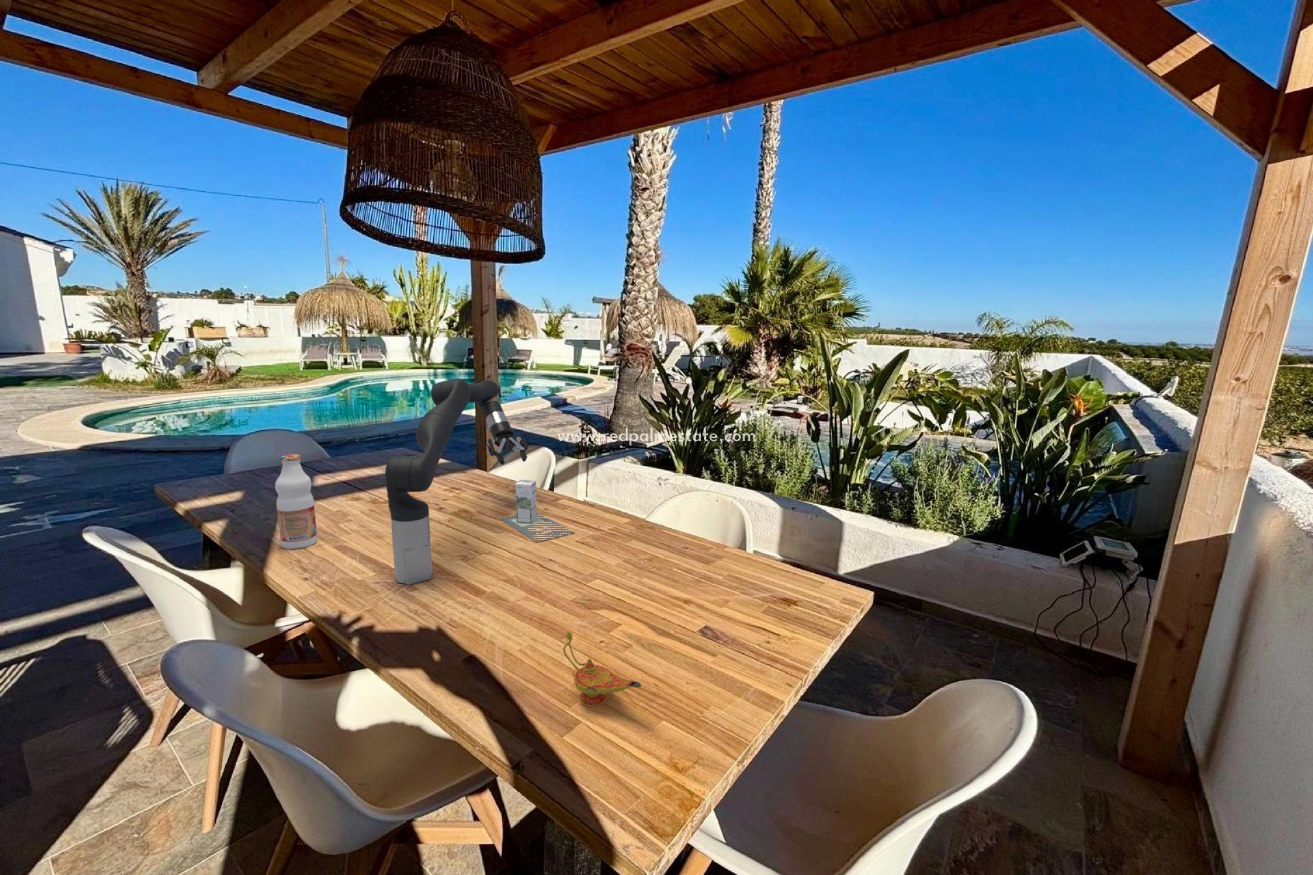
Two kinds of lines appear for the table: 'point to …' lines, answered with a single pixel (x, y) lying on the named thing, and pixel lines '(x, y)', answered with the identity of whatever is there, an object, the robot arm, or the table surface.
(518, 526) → the mat
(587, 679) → the magic lamp
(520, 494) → the syrup box
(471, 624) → the table surface
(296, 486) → the fruit juice
